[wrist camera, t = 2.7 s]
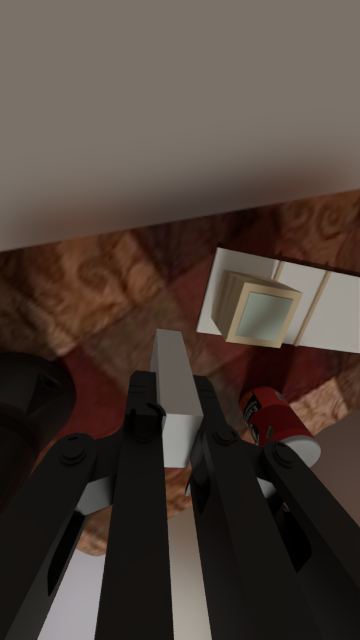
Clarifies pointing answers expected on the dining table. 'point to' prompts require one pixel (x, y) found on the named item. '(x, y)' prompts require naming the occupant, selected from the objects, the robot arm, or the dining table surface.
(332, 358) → the dining table surface
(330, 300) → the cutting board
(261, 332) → the tan cube
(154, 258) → the dining table surface
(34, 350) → the dining table surface
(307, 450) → the canned food
